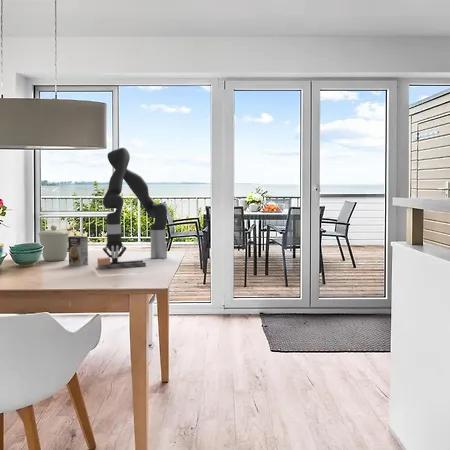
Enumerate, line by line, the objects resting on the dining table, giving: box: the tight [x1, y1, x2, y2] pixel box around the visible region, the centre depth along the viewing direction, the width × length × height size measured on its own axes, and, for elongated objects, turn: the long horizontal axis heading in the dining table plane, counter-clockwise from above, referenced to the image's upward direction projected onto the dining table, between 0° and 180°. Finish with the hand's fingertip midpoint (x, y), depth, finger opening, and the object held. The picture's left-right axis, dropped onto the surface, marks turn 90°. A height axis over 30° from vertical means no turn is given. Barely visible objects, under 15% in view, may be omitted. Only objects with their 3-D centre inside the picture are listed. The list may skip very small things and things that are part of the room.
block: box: [96, 256, 111, 270], centre depth 269 cm, size 6×6×5 cm
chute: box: [99, 260, 147, 270], centre depth 272 cm, size 24×10×3 cm, turn 110°
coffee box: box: [68, 235, 89, 267], centre depth 285 cm, size 9×6×16 cm
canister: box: [37, 224, 70, 262], centre depth 304 cm, size 18×18×21 cm
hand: (114, 265), depth 270 cm, fingers closed
